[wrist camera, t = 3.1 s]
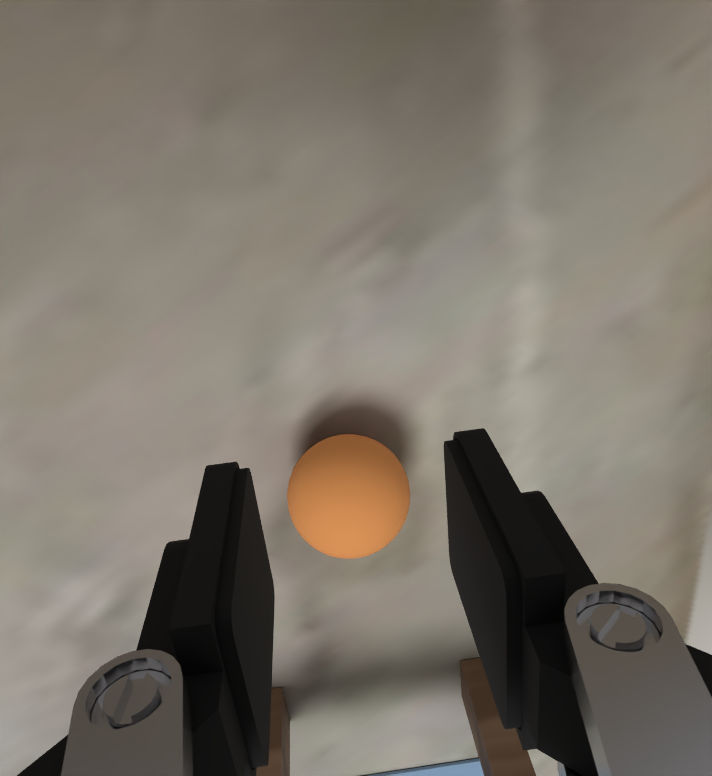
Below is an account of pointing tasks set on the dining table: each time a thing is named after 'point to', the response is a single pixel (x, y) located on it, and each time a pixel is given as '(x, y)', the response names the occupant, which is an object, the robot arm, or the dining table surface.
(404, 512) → the ball
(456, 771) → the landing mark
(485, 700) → the bridge
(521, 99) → the dining table surface
